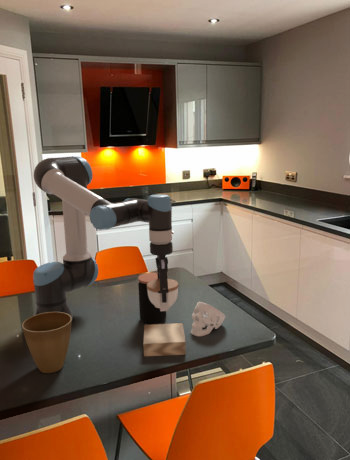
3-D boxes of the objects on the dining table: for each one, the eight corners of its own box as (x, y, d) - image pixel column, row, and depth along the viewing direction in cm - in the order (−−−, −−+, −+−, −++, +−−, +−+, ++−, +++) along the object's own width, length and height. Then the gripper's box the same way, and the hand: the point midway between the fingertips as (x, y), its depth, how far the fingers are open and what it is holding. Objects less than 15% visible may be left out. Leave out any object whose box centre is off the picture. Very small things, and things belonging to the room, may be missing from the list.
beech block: (144, 357, 134) (143, 343, 133) (145, 337, 148) (144, 324, 147) (185, 355, 135) (185, 341, 134) (182, 335, 149) (182, 323, 148)
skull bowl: (179, 329, 150) (190, 298, 152) (201, 336, 159) (211, 307, 162) (200, 338, 142) (212, 305, 145) (221, 345, 152) (232, 314, 154)
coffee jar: (170, 315, 165) (169, 273, 161) (160, 327, 155) (159, 283, 151) (146, 312, 168) (144, 271, 164) (135, 323, 158) (133, 280, 154)
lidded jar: (144, 310, 134) (143, 284, 132) (151, 298, 144) (150, 273, 142) (176, 312, 132) (175, 285, 130) (181, 299, 142) (180, 274, 140)
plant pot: (78, 374, 125) (73, 326, 121) (27, 384, 120) (21, 335, 117) (73, 351, 139) (69, 308, 135) (27, 359, 134) (22, 315, 130)
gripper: (175, 250, 122) (177, 317, 127) (169, 233, 145) (171, 290, 150) (151, 251, 122) (153, 319, 126) (148, 234, 144) (150, 292, 149)
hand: (163, 303), depth 138 cm, fingers closed on lidded jar, 11 cm apart
